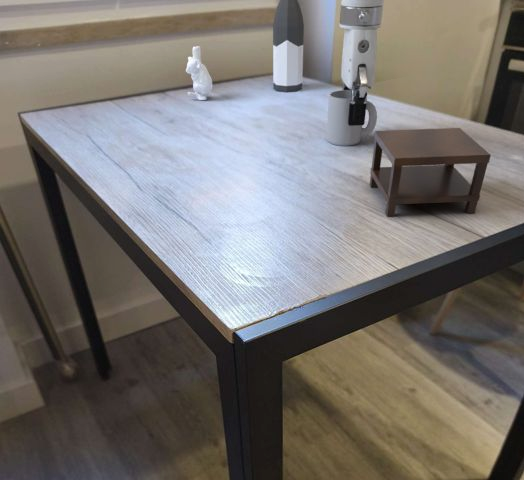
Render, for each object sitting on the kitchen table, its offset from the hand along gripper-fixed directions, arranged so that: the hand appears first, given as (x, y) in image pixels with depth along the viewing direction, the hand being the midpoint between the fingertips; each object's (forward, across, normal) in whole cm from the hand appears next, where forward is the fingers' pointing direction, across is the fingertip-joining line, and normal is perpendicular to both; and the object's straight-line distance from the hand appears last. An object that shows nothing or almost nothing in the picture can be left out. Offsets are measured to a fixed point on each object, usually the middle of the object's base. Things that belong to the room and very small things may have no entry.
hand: (351, 118), depth 104 cm
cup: (+5, 0, 0) cm, 5 cm away
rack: (+5, -30, -6) cm, 31 cm away
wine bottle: (+5, +47, +9) cm, 48 cm away
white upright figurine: (+5, +39, +33) cm, 51 cm away
